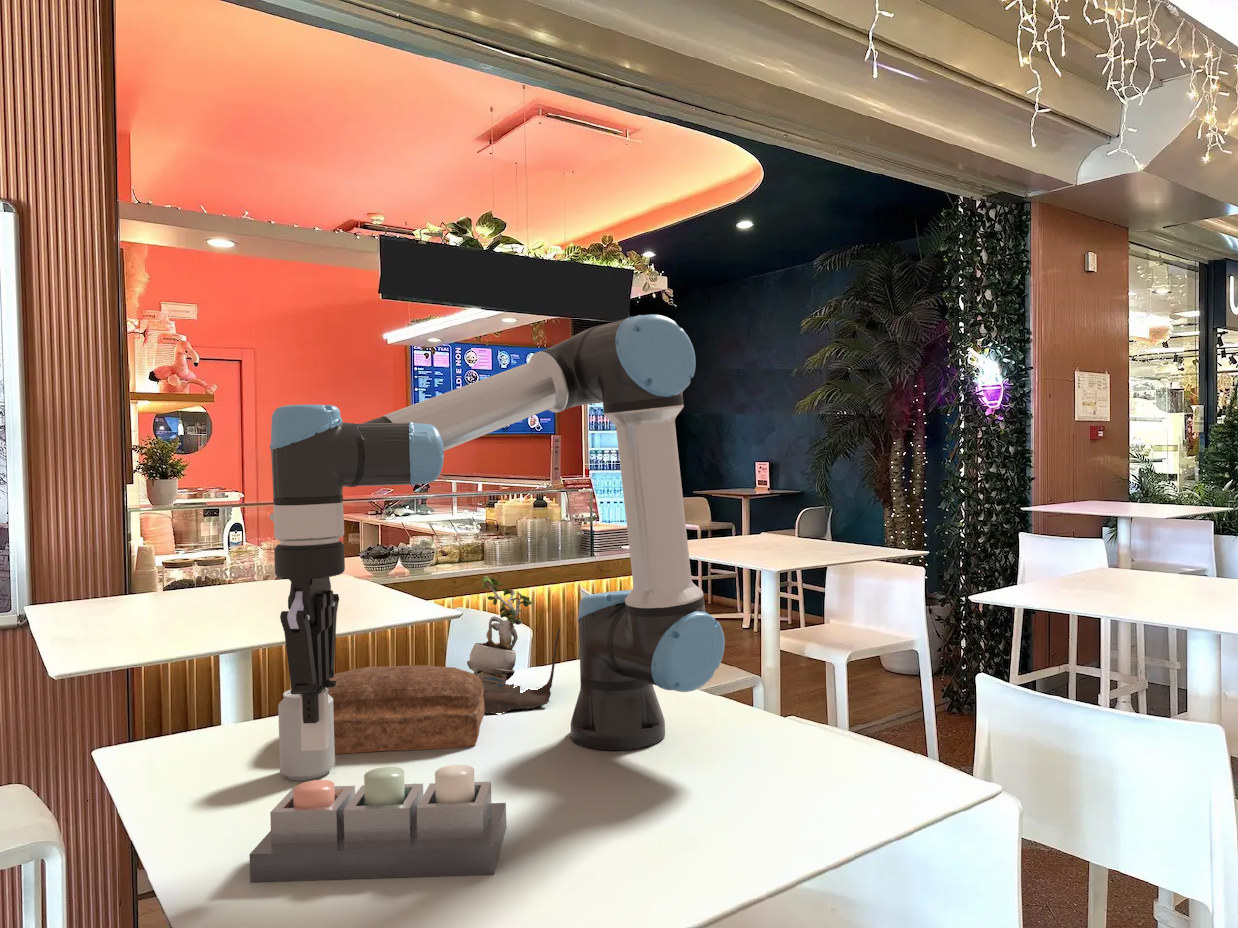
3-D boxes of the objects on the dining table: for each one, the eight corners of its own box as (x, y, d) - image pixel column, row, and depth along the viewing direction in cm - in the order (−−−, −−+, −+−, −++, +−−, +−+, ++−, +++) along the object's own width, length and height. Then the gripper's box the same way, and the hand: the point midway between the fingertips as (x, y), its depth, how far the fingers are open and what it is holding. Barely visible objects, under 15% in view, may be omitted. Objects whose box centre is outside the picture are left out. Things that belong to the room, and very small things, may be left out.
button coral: (340, 817, 102) (339, 779, 102) (328, 833, 98) (327, 793, 98) (302, 818, 102) (301, 780, 102) (288, 835, 98) (287, 794, 97)
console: (506, 827, 106) (505, 773, 106) (493, 874, 94) (492, 813, 94) (290, 834, 106) (289, 780, 106) (250, 882, 94) (248, 821, 94)
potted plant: (449, 701, 172) (480, 576, 177) (542, 721, 173) (571, 596, 177) (436, 712, 153) (471, 571, 157) (542, 735, 153) (574, 594, 158)
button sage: (408, 804, 102) (407, 766, 102) (400, 820, 98) (399, 779, 98) (371, 805, 102) (370, 767, 102) (360, 821, 98) (359, 781, 98)
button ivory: (477, 802, 102) (476, 763, 102) (472, 817, 98) (471, 777, 98) (439, 803, 102) (438, 765, 102) (432, 819, 98) (431, 778, 98)
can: (317, 783, 122) (315, 698, 122) (269, 781, 124) (266, 696, 124) (344, 765, 130) (342, 684, 129) (298, 762, 131) (296, 682, 131)
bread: (314, 726, 150) (312, 659, 150) (487, 717, 153) (486, 652, 153) (285, 760, 133) (283, 685, 133) (480, 749, 136) (479, 676, 136)
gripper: (296, 536, 106) (302, 731, 106) (253, 548, 93) (259, 769, 93) (358, 535, 106) (364, 729, 106) (324, 546, 93) (330, 767, 93)
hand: (315, 747), depth 100 cm, fingers closed
